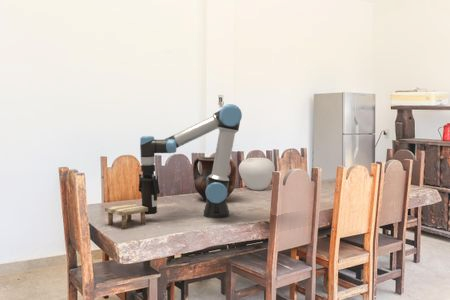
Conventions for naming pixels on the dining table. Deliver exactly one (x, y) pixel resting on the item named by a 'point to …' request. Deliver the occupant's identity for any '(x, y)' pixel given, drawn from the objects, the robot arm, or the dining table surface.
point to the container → (147, 195)
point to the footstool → (126, 213)
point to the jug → (207, 170)
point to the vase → (256, 172)
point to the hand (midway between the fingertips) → (149, 205)
